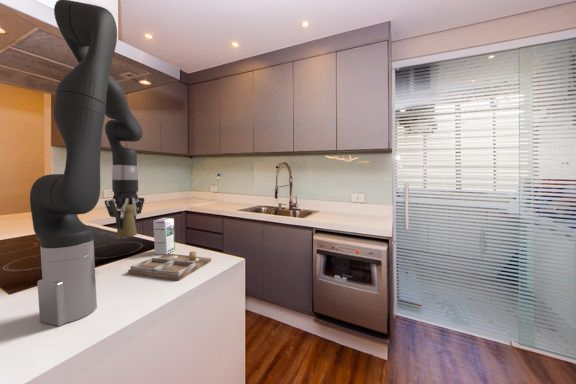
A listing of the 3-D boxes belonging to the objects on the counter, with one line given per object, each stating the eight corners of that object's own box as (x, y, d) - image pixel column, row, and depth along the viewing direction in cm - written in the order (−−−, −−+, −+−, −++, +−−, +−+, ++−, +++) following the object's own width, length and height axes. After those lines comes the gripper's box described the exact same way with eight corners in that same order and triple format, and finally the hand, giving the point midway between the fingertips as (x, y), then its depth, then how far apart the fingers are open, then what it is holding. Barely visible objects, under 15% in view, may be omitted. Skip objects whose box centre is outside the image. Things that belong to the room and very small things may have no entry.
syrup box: (166, 254, 100) (165, 220, 99) (154, 254, 101) (152, 219, 100) (175, 250, 106) (174, 218, 105) (163, 250, 107) (162, 217, 106)
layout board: (178, 280, 76) (178, 267, 76) (128, 273, 81) (127, 261, 81) (211, 261, 93) (210, 250, 93) (167, 256, 98) (167, 246, 98)
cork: (133, 232, 89) (132, 202, 89) (139, 235, 85) (139, 204, 85) (113, 235, 84) (113, 204, 84) (119, 238, 81) (119, 205, 80)
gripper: (114, 178, 76) (116, 232, 77) (150, 178, 90) (151, 224, 91) (96, 178, 78) (97, 231, 79) (134, 178, 92) (135, 223, 92)
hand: (126, 227), depth 85 cm, fingers closed on cork, 4 cm apart
